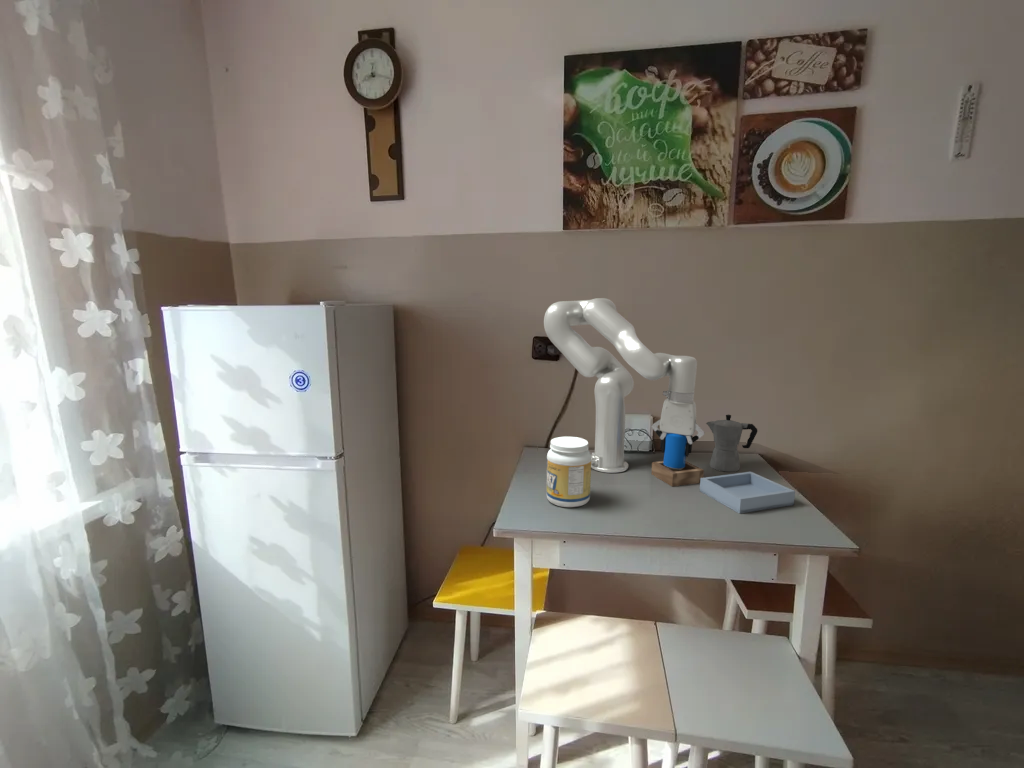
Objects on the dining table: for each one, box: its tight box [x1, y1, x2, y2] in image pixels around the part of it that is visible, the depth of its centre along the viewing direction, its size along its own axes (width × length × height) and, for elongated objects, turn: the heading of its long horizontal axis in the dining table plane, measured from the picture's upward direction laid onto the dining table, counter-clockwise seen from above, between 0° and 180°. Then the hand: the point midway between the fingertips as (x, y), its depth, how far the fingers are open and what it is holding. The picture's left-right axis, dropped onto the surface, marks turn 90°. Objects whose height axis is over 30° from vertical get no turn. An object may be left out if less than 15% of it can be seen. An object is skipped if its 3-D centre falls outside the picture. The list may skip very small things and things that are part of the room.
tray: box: [699, 471, 796, 514], centre depth 142 cm, size 18×16×4 cm
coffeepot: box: [705, 414, 758, 473], centre depth 165 cm, size 15×9×18 cm, turn 67°
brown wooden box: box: [651, 460, 705, 487], centre depth 157 cm, size 11×11×4 cm
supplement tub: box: [545, 436, 592, 508], centre depth 139 cm, size 12×12×17 cm
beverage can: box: [662, 433, 688, 470], centre depth 156 cm, size 6×6×12 cm
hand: (675, 452), depth 156 cm, fingers closed on beverage can, 6 cm apart
